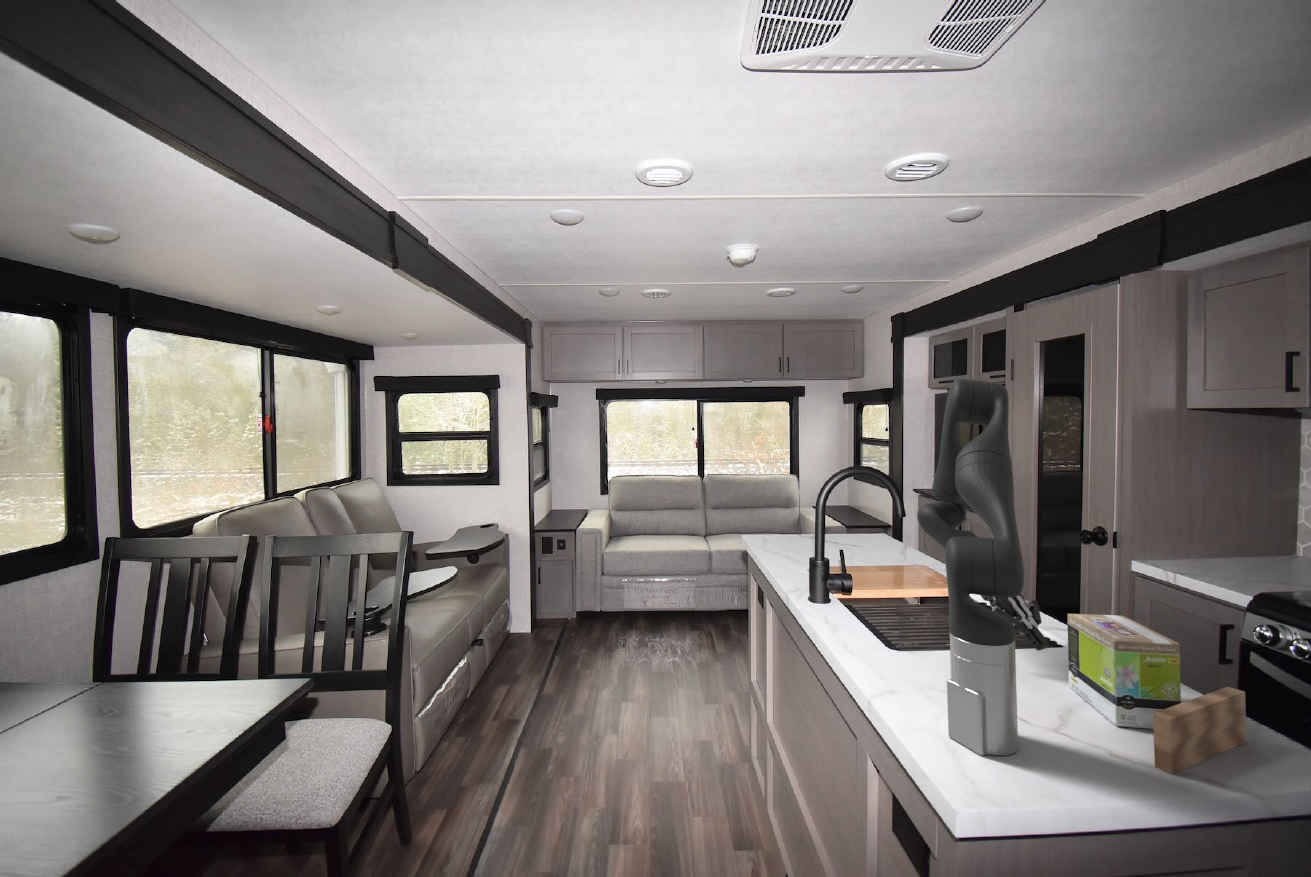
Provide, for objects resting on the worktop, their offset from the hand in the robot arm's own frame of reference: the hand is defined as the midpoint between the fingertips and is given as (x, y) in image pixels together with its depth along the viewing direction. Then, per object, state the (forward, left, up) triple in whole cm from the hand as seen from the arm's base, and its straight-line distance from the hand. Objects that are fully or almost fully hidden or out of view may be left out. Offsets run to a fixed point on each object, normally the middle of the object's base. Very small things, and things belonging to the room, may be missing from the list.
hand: (1044, 648), depth 110 cm
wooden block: (-5, -27, -6) cm, 28 cm away
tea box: (0, -13, -6) cm, 15 cm away
